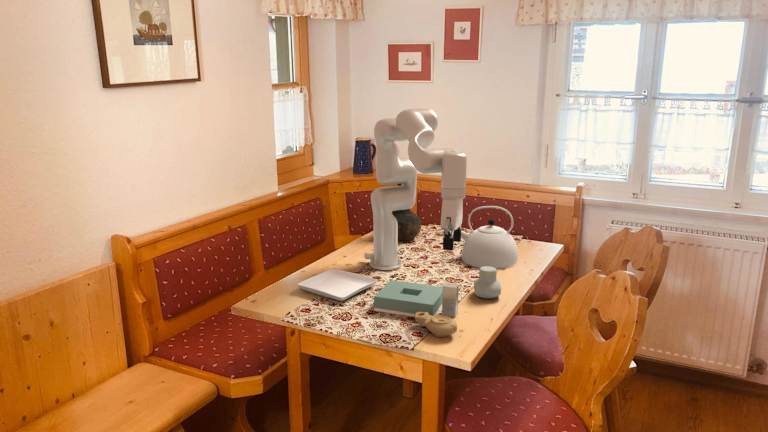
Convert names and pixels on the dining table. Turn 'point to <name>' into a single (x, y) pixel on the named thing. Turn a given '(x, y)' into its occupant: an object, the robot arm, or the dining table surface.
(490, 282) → the air freshener
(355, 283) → the salad plate
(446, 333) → the oil lamp
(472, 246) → the kettle
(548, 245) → the dining table surface
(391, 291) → the well block
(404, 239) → the dark vase
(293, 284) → the dining table surface
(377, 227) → the robot arm
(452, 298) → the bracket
